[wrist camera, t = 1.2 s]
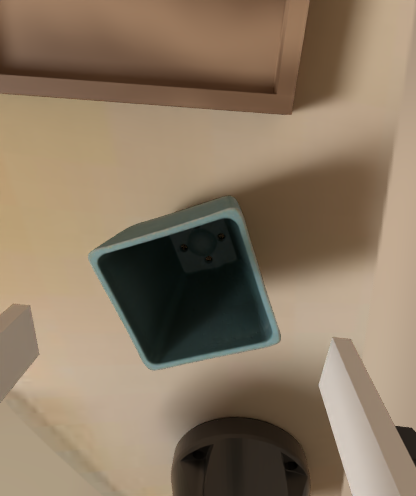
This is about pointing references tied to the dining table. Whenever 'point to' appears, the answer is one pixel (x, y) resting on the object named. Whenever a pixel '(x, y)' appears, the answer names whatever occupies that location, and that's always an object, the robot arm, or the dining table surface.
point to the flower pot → (188, 286)
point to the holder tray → (155, 51)
